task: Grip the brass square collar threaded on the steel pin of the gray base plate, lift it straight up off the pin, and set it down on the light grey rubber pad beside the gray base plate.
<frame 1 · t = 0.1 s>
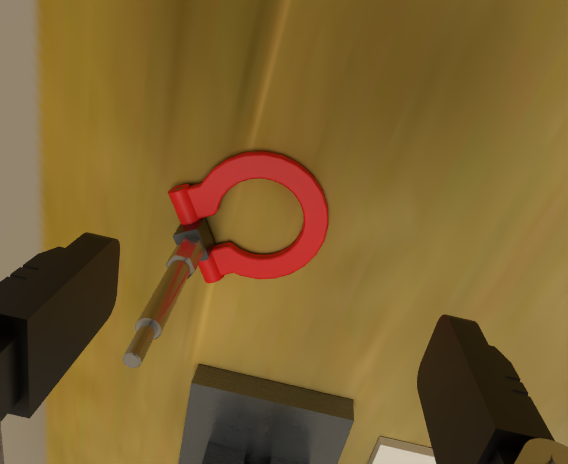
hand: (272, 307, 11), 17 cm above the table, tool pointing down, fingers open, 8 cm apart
gray base plate: (256, 452, 38), on the table
tow hook: (255, 214, 30), on the table
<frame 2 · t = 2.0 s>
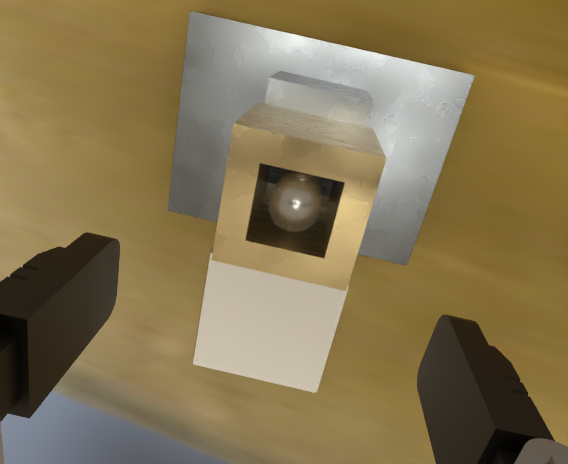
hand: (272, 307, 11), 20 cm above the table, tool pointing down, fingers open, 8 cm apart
gray base plate: (309, 142, 29), on the table
collar: (302, 170, 23), point 7 cm above the table, touching gray base plate
pad: (267, 321, 35), on the table
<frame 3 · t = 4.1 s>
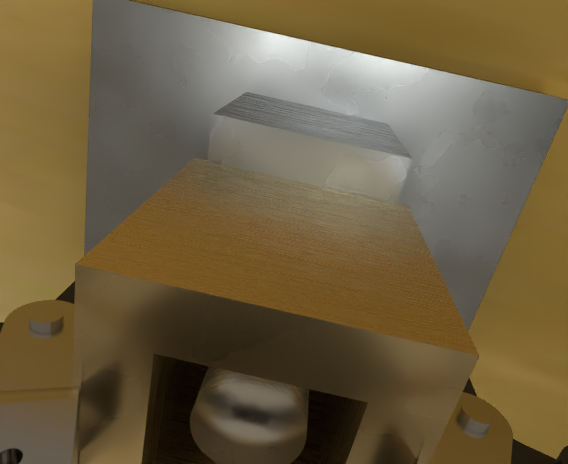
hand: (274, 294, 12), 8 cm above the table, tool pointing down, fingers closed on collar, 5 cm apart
gray base plate: (296, 196, 19), on the table
collar: (279, 276, 13), point 7 cm above the table, touching gripper, gray base plate
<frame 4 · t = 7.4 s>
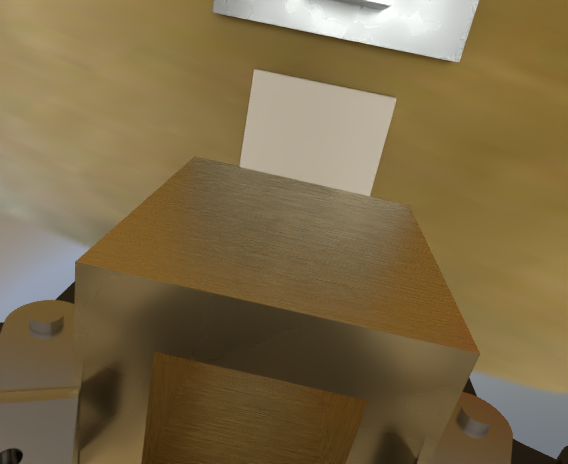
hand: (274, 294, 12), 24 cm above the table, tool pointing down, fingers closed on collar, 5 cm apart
collar: (280, 275, 13), point 23 cm above the table, touching gripper
pad: (310, 151, 34), on the table
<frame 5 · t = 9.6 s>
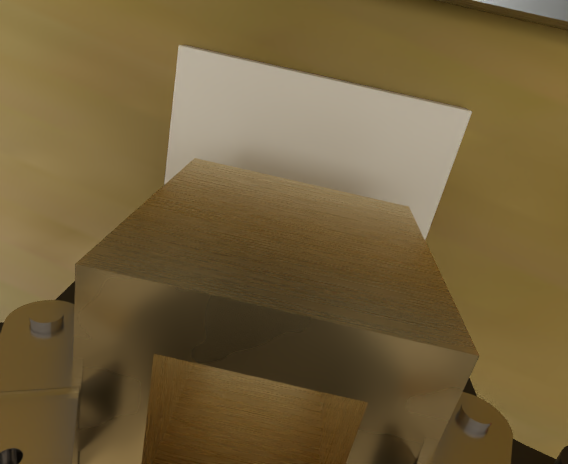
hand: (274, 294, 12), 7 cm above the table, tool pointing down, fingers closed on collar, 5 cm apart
collar: (279, 276, 13), point 6 cm above the table, touching gripper
pad: (295, 207, 18), on the table
when the fingers open (3 cm above the table, at t = 11.1 s): collar drops 1 cm, resting on pad.
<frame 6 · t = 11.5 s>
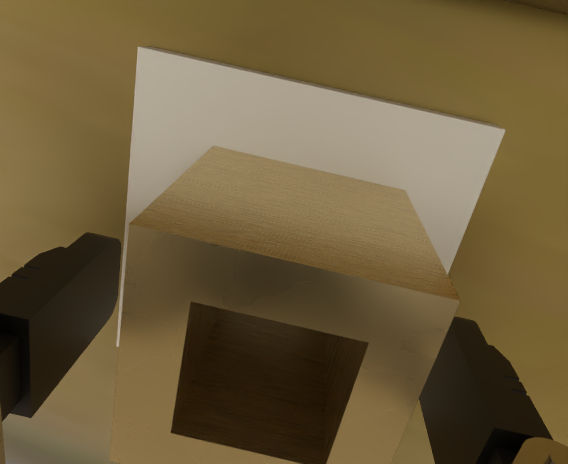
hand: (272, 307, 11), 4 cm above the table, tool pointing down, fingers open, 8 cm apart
collar: (288, 254, 14), point 1 cm above the table, touching pad
pad: (285, 242, 15), on the table
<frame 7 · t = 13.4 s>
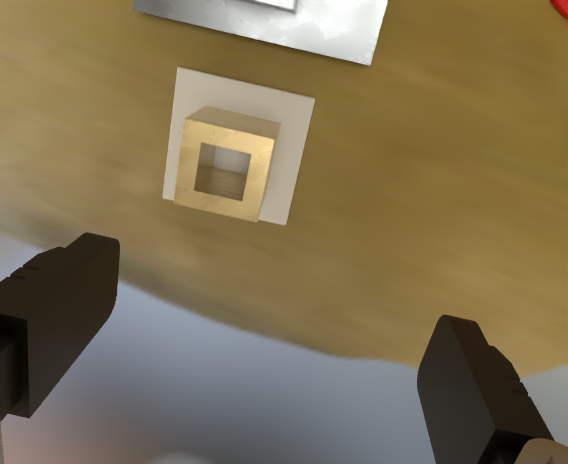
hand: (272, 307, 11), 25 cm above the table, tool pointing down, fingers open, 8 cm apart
collar: (236, 151, 35), point 1 cm above the table, touching pad
pad: (236, 148, 35), on the table
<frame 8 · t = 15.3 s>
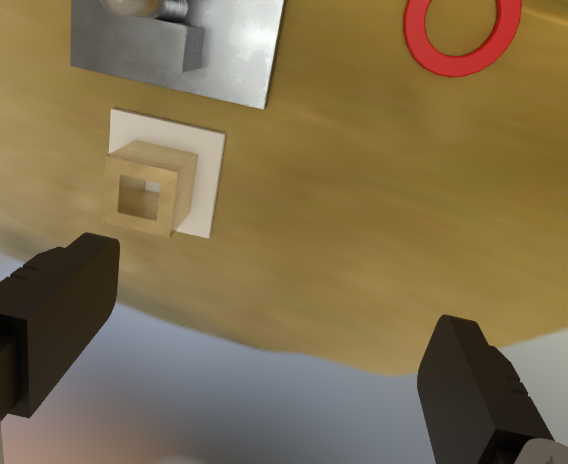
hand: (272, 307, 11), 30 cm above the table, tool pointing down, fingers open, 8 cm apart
gray base plate: (182, 8, 37), on the table
collar: (163, 177, 41), point 1 cm above the table, touching pad
pad: (165, 174, 42), on the table
tow hook: (457, 12, 35), on the table
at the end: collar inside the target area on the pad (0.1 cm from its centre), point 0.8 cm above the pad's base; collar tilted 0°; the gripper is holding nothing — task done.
